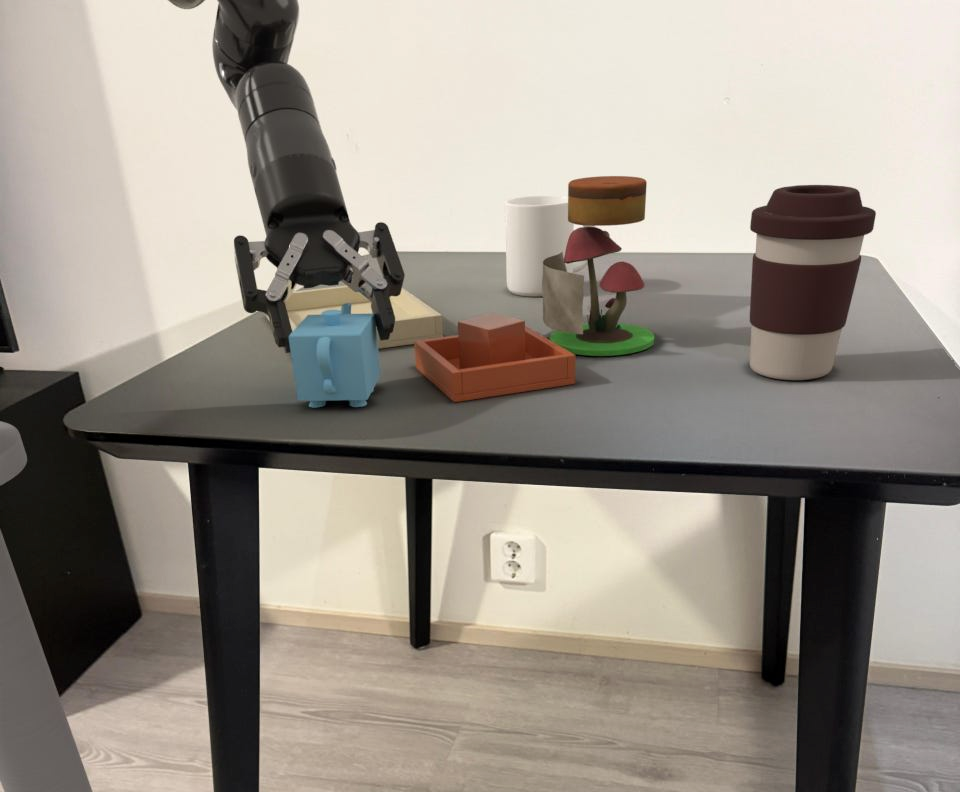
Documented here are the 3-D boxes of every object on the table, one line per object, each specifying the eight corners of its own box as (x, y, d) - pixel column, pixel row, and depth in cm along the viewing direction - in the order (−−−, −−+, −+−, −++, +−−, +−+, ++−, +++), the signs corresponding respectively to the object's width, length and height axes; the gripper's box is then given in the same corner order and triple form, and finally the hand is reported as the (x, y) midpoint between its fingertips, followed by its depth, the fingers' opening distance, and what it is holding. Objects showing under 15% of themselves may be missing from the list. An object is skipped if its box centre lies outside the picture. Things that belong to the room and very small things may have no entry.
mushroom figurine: (627, 321, 101) (634, 169, 93) (678, 350, 91) (691, 182, 83) (525, 332, 99) (523, 177, 91) (565, 364, 89) (567, 192, 81)
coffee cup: (838, 355, 88) (868, 180, 80) (855, 387, 80) (891, 196, 71) (731, 354, 89) (750, 182, 81) (737, 385, 81) (759, 198, 73)
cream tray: (297, 359, 93) (293, 333, 92) (266, 317, 109) (263, 294, 108) (443, 340, 98) (441, 314, 96) (393, 302, 113) (391, 280, 112)
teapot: (325, 374, 89) (314, 293, 85) (387, 373, 88) (379, 291, 84) (295, 417, 79) (281, 327, 74) (365, 416, 78) (355, 325, 74)
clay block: (490, 379, 84) (488, 329, 81) (459, 369, 86) (457, 321, 84) (525, 368, 86) (525, 320, 83) (494, 359, 89) (493, 312, 86)
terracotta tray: (454, 402, 80) (452, 372, 79) (415, 367, 90) (413, 340, 88) (575, 383, 83) (575, 355, 82) (526, 352, 93) (525, 325, 91)
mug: (581, 277, 122) (583, 191, 116) (610, 289, 115) (614, 198, 109) (496, 287, 118) (494, 199, 113) (522, 300, 112) (521, 207, 106)
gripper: (368, 203, 88) (410, 354, 85) (217, 216, 84) (256, 375, 82) (377, 145, 81) (424, 307, 78) (212, 156, 77) (255, 327, 74)
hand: (338, 341), depth 80 cm, fingers closed on teapot, 8 cm apart
